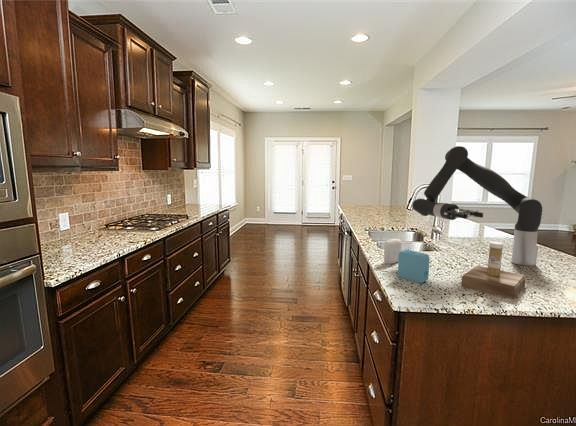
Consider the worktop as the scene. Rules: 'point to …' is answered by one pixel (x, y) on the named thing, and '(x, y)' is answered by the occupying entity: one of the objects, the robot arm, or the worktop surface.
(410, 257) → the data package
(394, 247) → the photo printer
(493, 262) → the sprinkles bottle
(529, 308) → the worktop surface
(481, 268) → the walnut riser
